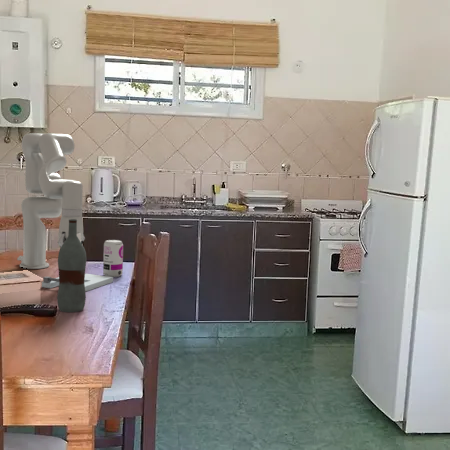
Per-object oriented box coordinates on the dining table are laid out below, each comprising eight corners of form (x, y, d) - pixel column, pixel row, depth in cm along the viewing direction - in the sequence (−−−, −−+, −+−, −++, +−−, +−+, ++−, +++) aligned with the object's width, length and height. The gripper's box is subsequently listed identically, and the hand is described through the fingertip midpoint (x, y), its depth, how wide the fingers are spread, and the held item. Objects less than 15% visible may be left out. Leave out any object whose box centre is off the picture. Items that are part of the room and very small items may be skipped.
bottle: (70, 314, 179) (72, 222, 176) (50, 309, 184) (51, 219, 180) (91, 308, 187) (93, 220, 184) (72, 303, 192) (73, 217, 188)
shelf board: (41, 287, 213) (41, 277, 213) (76, 276, 234) (76, 267, 234) (80, 293, 207) (81, 282, 207) (113, 281, 228) (113, 272, 228)
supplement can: (124, 274, 244) (125, 240, 243) (119, 277, 236) (120, 243, 234) (106, 272, 245) (107, 239, 243) (100, 276, 237) (101, 241, 235)
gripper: (77, 211, 222) (76, 255, 224) (49, 214, 206) (49, 261, 208) (93, 212, 220) (92, 257, 222) (66, 215, 203) (65, 263, 205)
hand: (71, 259), depth 215 cm, fingers closed on beer glass, 6 cm apart
